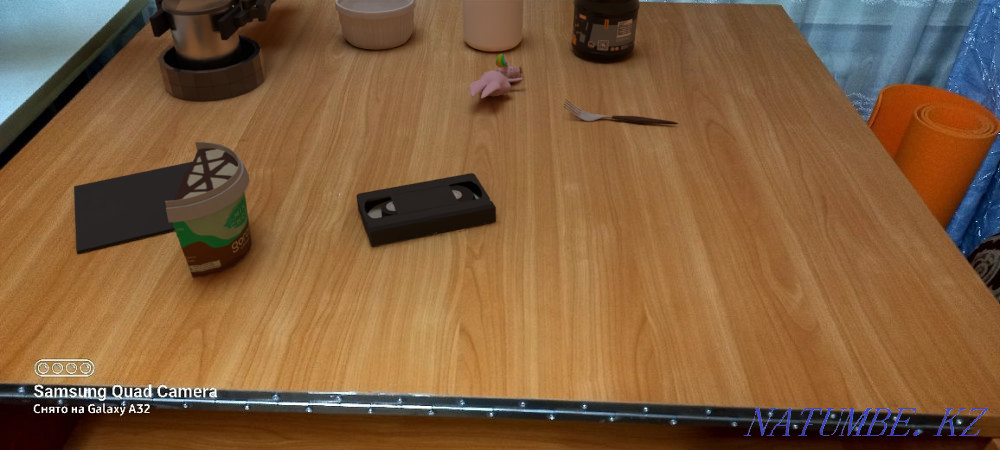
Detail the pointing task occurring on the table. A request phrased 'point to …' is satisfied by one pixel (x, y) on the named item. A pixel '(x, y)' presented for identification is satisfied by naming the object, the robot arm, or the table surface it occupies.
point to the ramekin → (376, 22)
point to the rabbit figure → (497, 79)
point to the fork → (592, 117)
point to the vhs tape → (424, 209)
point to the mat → (125, 207)
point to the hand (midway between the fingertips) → (188, 29)
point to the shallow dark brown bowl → (214, 75)
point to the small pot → (201, 34)
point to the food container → (212, 211)
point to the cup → (492, 24)
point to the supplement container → (604, 29)
